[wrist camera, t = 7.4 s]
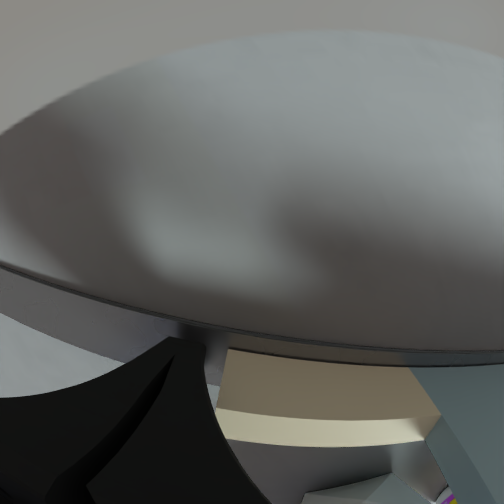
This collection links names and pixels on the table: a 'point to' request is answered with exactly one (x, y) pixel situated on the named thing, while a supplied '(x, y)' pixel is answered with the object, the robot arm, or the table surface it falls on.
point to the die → (368, 493)
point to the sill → (187, 332)
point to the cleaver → (373, 412)
